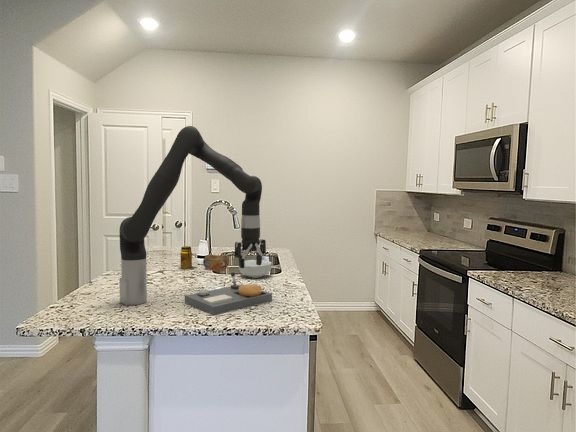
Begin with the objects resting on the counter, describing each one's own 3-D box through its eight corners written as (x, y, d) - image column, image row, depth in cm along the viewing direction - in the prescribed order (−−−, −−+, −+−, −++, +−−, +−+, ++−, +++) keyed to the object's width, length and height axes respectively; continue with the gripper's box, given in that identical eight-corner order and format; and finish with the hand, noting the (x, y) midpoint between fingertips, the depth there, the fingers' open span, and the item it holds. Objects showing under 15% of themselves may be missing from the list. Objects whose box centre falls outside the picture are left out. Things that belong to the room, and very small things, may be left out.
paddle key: (211, 307, 152) (211, 301, 151) (202, 304, 155) (202, 298, 155) (232, 302, 158) (232, 297, 158) (224, 299, 162) (224, 294, 162)
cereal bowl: (254, 271, 224) (254, 258, 223) (278, 276, 213) (278, 262, 213) (231, 276, 211) (231, 262, 210) (255, 281, 200) (255, 267, 199)
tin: (202, 269, 227) (202, 253, 226) (206, 268, 230) (206, 253, 229) (225, 272, 220) (225, 256, 219) (228, 271, 223) (228, 255, 222)
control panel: (213, 315, 149) (213, 303, 148) (184, 302, 163) (184, 292, 163) (272, 300, 168) (272, 290, 168) (241, 291, 182) (241, 281, 182)
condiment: (177, 269, 226) (177, 247, 225) (186, 266, 234) (186, 245, 233) (188, 270, 224) (188, 248, 223) (197, 267, 232) (197, 246, 231)
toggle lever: (234, 285, 173) (232, 272, 174) (232, 285, 175) (229, 273, 176) (238, 284, 175) (235, 271, 176) (235, 285, 176) (233, 272, 177)
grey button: (201, 296, 161) (201, 292, 161) (196, 294, 164) (196, 290, 164) (209, 295, 164) (209, 291, 164) (204, 293, 166) (204, 289, 166)
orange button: (248, 297, 161) (248, 291, 161) (234, 292, 168) (234, 287, 167) (266, 293, 167) (266, 287, 167) (251, 289, 174) (251, 283, 174)
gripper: (242, 228, 158) (242, 270, 159) (270, 225, 168) (270, 265, 169) (230, 226, 163) (230, 267, 165) (258, 224, 173) (258, 262, 175)
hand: (250, 266), depth 167 cm, fingers open, 8 cm apart
